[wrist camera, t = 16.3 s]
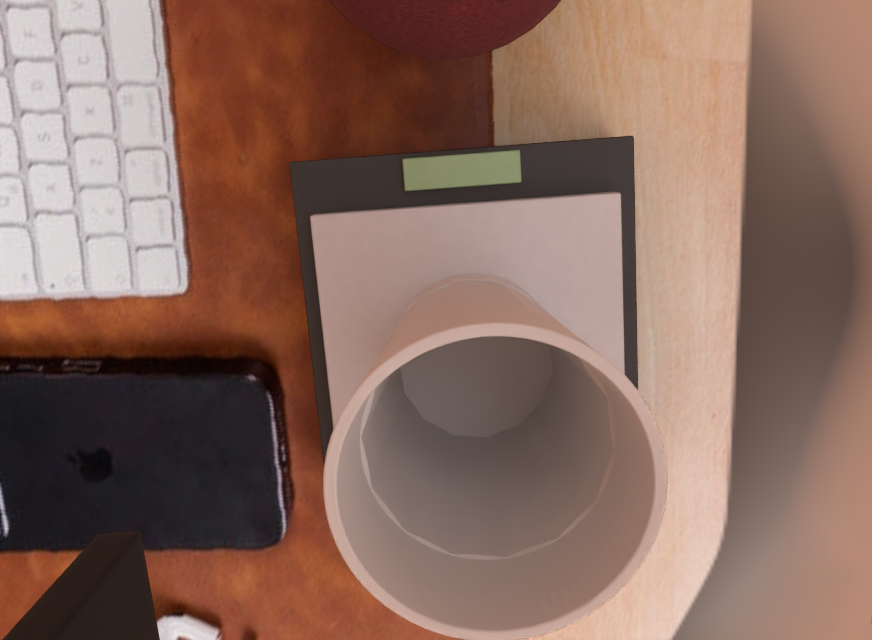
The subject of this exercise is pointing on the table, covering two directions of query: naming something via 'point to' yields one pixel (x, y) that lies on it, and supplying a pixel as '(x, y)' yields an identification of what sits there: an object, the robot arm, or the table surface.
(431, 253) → the scale
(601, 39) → the table surface
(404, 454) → the cup
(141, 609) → the robot arm
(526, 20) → the decorative ball
